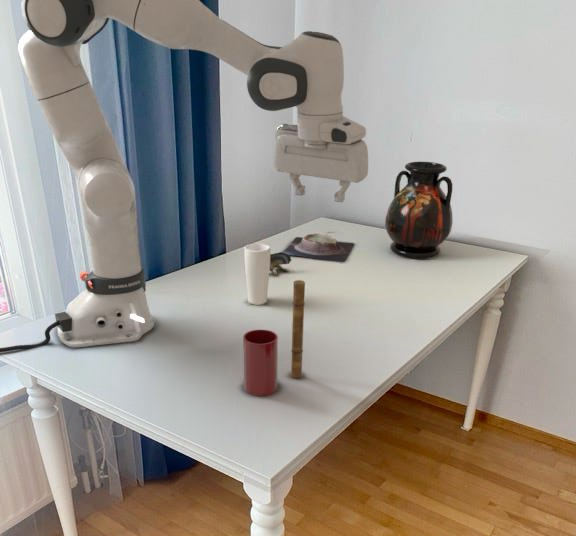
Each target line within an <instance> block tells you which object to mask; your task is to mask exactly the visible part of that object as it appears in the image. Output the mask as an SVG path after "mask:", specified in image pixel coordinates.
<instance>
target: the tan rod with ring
mask: <svg viewBox="0 0 576 536" xmlns="http://www.w3.org/2000/svg"><path fill="white" fill-rule="evenodd" d="M305 289H306V282H305V281H304V280H302V279H297V280H294V281H293V292H292V293H293V294H292V295H293V296H292V328H291V329H292V330H291V331H292V332H291V333H292V334H291V337H292V338H291V349H290V350H291V351H290V352H291V364H290V365H291V367H290V368H291V369H290V377H291V378H293V379H301V378H302V375H303V352H304V348H303V347H304V346H303V345H304V321H305V319H304V318H305V303H306V302H305V292H306V290H305Z"/></svg>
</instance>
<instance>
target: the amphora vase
mask: <svg viewBox="0 0 576 536" xmlns="http://www.w3.org/2000/svg"><path fill="white" fill-rule="evenodd" d="M404 169H405V170H401V171H399V172H398V174H397V176H396V178H395V183H394V192H393V193H394V194H393V199H392V201H391V202H390V204H389V206H388V208H387V212H386V216H385V222H384V223H385V224H384V227H385V231H386V233H387V235H388V237H389V238H390V239H391V241H392V242H391V244H390V246H389V247H390V250H391V252H392V253H393V254H395V255H397V256H399V257H402V258H406V259H415V260H425V259H426V260H427V259H432V258H435V257H437V256H438V255H439V254H440V253H441V247H440V245H441V244H442V243H444V242H445V240H446V239H447V238H448V237H449V236H450V234H451V232H452V228H453V209H452V205H451V201H452V196H453V181H452V178H450V177H448V176H441V177H440V175H441V174H444V173H445V172H446V171H447V170H448V168H447V165H445V164H442V163H439V162H432V161H411V162H407V163H406V164H405V165H404ZM403 176H405V177H406V179H407V184H406V185H405V186H403V188H402V189H401V181H402V177H403ZM442 182H445V183H446V186H447V193H445V192H444V191H443V188H441V183H442Z"/></svg>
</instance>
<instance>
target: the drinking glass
mask: <svg viewBox="0 0 576 536" xmlns="http://www.w3.org/2000/svg"><path fill="white" fill-rule="evenodd" d="M270 254H271V247H270V245H268V244H264V243H250V244H247V245H244V249H243V262H244V273H245V283H246V291H247V292H246V293H247V294H246V295H247V296H246V297H247V298H246V299H247V302H248V303H249V304H251V305H255V306H261V305H265V304H266V303H267V302H268V291H269V280H270V271H271V270H270Z"/></svg>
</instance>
